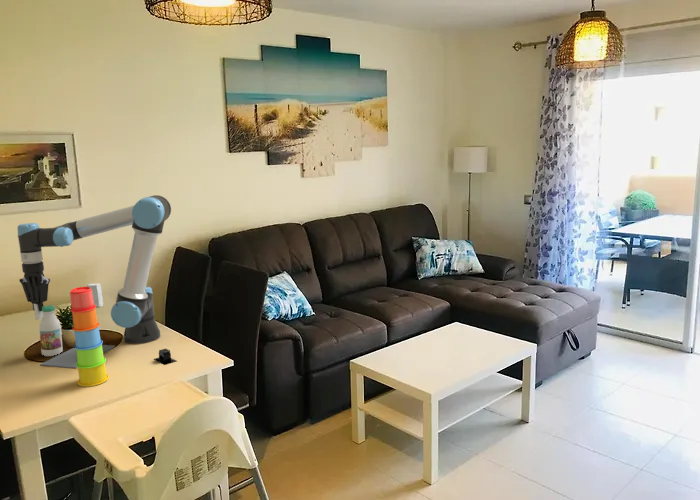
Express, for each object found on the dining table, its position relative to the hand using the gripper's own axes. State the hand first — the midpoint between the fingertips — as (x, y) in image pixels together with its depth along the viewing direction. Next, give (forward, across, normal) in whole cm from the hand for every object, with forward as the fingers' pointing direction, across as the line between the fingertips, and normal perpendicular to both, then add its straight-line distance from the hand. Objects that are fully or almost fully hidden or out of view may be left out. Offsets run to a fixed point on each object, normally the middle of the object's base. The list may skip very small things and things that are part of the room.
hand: (39, 318), depth 229 cm
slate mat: (+15, +17, 0) cm, 23 cm away
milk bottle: (+15, +4, 0) cm, 15 cm away
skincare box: (+15, -26, +66) cm, 72 cm away
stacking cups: (+15, +40, -21) cm, 48 cm away
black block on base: (+16, +55, +2) cm, 57 cm away
